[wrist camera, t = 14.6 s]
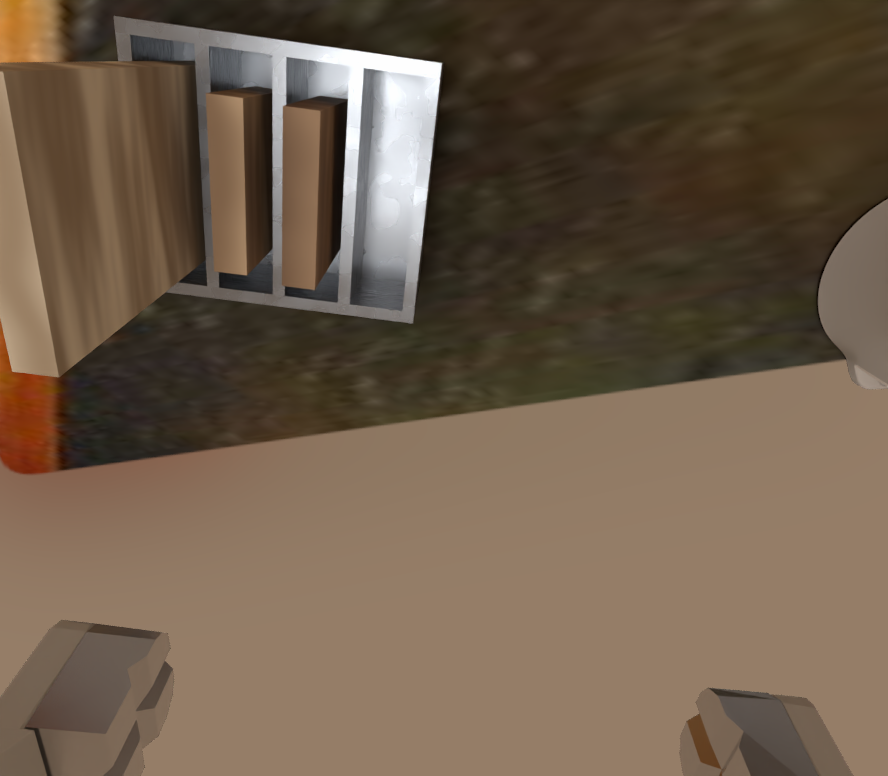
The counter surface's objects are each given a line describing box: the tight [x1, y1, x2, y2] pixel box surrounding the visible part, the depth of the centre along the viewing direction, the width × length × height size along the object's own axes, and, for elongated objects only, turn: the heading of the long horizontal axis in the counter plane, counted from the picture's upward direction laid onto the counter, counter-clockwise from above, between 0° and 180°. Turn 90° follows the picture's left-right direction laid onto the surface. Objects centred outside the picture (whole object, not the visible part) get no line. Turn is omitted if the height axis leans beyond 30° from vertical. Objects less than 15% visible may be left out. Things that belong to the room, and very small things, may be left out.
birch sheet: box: [0, 61, 206, 377], centre depth 34 cm, size 2×12×22 cm, turn 173°
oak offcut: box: [206, 86, 273, 275], centre depth 40 cm, size 2×10×9 cm, turn 173°
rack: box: [114, 16, 445, 323], centre depth 42 cm, size 18×16×8 cm
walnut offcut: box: [282, 96, 348, 290], centre depth 40 cm, size 2×10×10 cm, turn 173°
